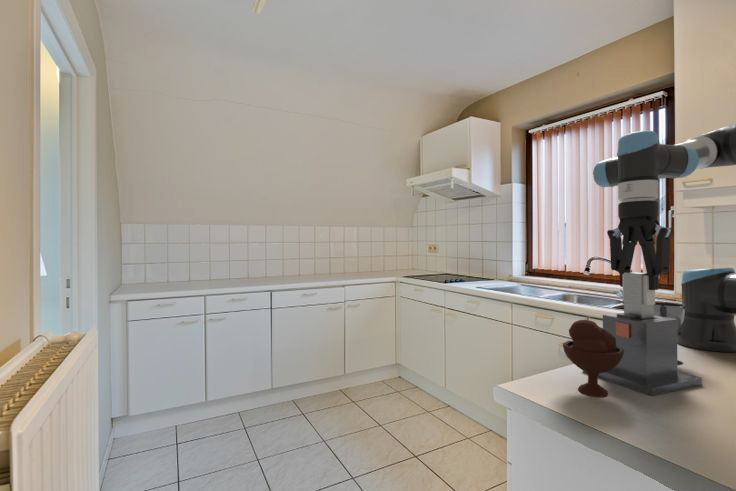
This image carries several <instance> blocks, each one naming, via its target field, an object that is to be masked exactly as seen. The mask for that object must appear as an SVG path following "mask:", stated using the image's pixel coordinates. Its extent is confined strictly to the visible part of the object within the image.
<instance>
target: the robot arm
mask: <svg viewBox="0 0 736 491" xmlns="http://www.w3.org/2000/svg"><path fill="white" fill-rule="evenodd" d="M658 137H659V136H658V133H657V132H656V131H653V130H642V131H641V130H640V131H634V132H629V133H626V134H624V135H622V136H621V137H620V138H619V139H618V143H617V153H616V156H617V157H613V158H607V159H605V160H602V161H599V162H598V163H596V165H595V166H594V168H593V171H592V175H593V181H594V182H595V183H596V185H597V186H598V187H601V188H613V187H617V190H618V191H617V195H618V196H617V199H618V201H620V202H619V203H618V206H617V210H618V211H617V213H618V214H617V215H618V219H619V223H618V225H617V227H616V228H614V229H608V230H607V231H606V233H607V237H608V239H609V250H610V251H609V254H610V269H611V270H612V271H615V272H617V273H619V286H620V287H621V288H622V302H623V303H624V273H627V272H633V270H631V269H632V264H633V260H634V254H635V249H636V247H637V245H638V244H639V246H640V247H641V253H642V257H643V261H644V266H645V270H646V272H644V273H645V275H644V276H643V302H644V305H653V304H655V301H656V291H659V280H660V278H659V276H660V275H662V274H666V273H667V274H668V273H669V271H670V246H671V244H670V242H671V237H672V235H673V233H674V228H673V227H665V226H662V225H660V223H659V221H658V217H659V202H658V201H657V199H658V198H659V180H661V179H667V178H668V179H669V178H670V179H672V180H673V179H680V178H681V179H682V178H687V177H688V176H690V175H692V174H693V173H694V172H695V170H702V169H708V168H716V167H719V168H720V167H730V166H736V123H733V124H729V125H726V126H723V127H720V128H717V129H715V130H712V131H710V132H706V133H703V134H701V135H697V136H693V137H690V138H689V139H686V141H684V142H682V143H677V144H664V143H659V141H660V140H659V138H658ZM655 235H656V243H655V238H654V237H655ZM655 244H656V245H655ZM681 275H682V276H681V283H680V286H681V304H684V305H685V317H684V321H683V324H682V326H681V328H680V329H679V330H677V345H678V344H679V345H681V346H684V347H685V346H686V347H689V348H692V349H697V350H705V351H712V352H722V353H723V352H724V353H736V323H735V315H736V270H735V269H734V268H733V267H713V268H699V269H698V268H697V269H688V270H685V271H684V272H683V273H682V274H681Z"/></svg>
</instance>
